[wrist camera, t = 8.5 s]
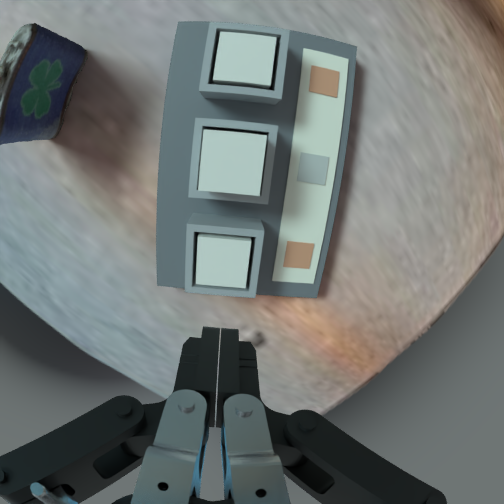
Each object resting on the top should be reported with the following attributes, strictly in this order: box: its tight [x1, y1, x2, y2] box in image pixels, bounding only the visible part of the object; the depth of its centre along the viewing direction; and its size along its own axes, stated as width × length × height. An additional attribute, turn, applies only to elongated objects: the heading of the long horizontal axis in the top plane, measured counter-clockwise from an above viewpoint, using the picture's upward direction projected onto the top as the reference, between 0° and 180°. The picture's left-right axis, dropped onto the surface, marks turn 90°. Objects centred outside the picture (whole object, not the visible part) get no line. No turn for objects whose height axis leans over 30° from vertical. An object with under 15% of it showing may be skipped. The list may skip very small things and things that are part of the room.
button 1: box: [196, 232, 251, 288], centre depth 21 cm, size 4×4×3 cm
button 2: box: [213, 32, 277, 90], centre depth 16 cm, size 4×4×3 cm
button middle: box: [198, 129, 267, 196], centre depth 17 cm, size 4×4×3 cm
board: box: [156, 22, 357, 298], centre depth 20 cm, size 22×14×5 cm, turn 173°
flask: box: [0, 23, 87, 145], centre depth 13 cm, size 9×3×11 cm, turn 156°
